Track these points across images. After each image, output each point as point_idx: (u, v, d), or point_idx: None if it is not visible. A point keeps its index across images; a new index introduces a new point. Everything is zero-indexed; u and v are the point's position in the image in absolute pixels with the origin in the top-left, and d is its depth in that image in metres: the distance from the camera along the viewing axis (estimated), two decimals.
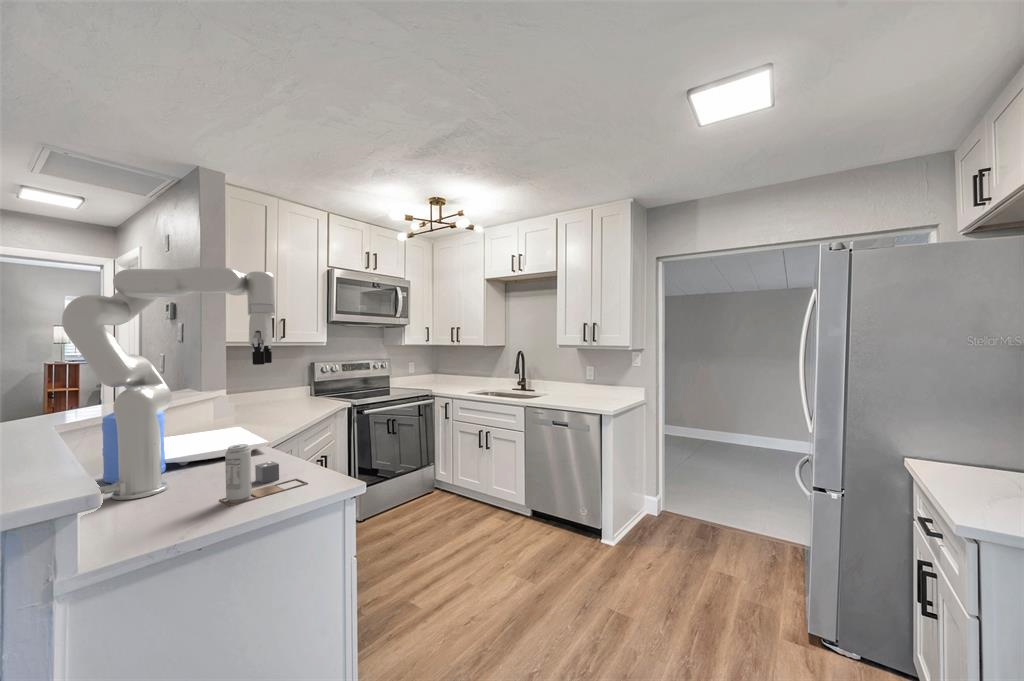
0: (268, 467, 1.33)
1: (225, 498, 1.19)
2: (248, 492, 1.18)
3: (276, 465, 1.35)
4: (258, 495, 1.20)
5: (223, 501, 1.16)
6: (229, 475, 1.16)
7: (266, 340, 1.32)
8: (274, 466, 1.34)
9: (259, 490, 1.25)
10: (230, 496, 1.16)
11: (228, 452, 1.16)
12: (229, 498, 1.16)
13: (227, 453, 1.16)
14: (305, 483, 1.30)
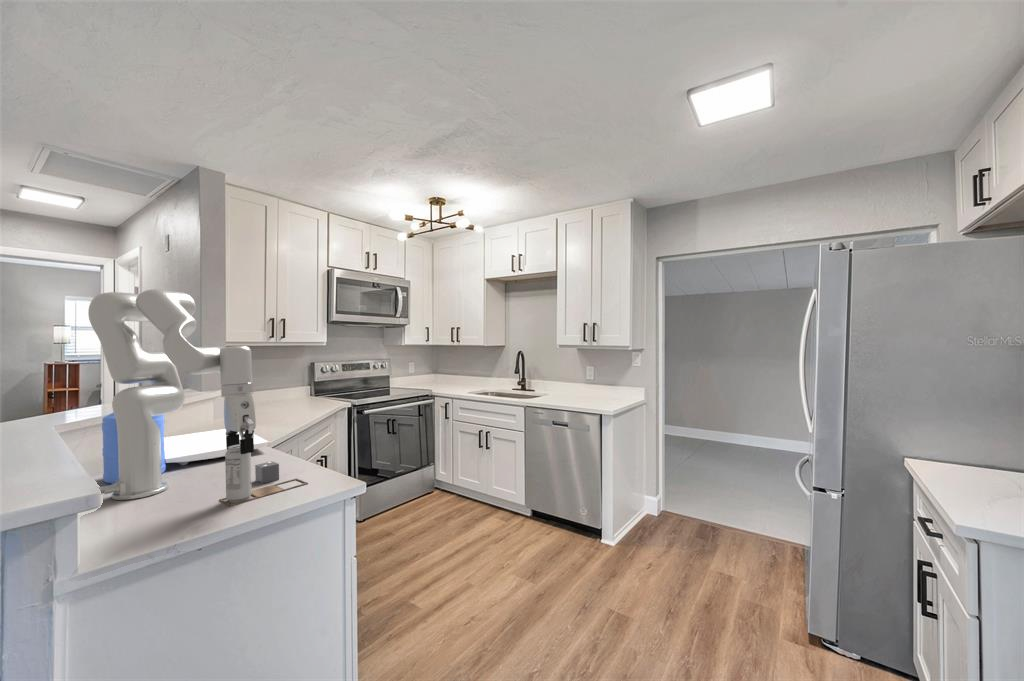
0: (268, 467, 1.33)
1: (225, 498, 1.19)
2: (248, 492, 1.18)
3: (276, 465, 1.35)
4: (258, 495, 1.20)
5: (223, 501, 1.16)
6: (229, 475, 1.16)
7: (225, 424, 1.19)
8: (274, 466, 1.34)
9: (259, 490, 1.25)
10: (230, 496, 1.16)
11: (228, 452, 1.16)
12: (229, 498, 1.16)
13: (227, 453, 1.16)
14: (305, 483, 1.30)
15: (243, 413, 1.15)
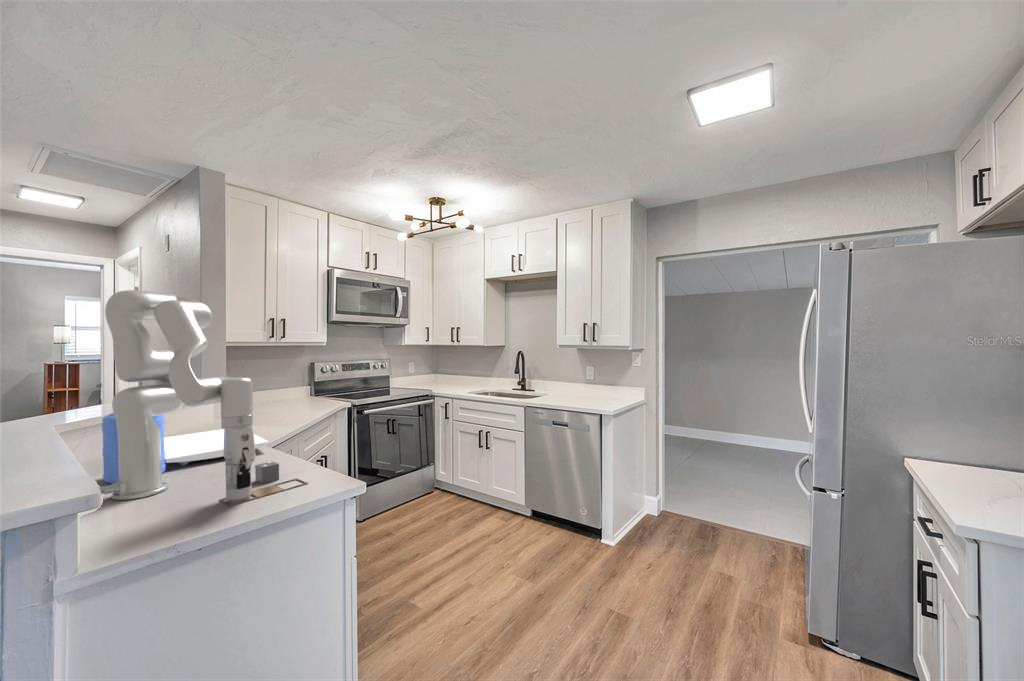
0: (268, 467, 1.33)
1: (225, 498, 1.19)
2: (248, 492, 1.18)
3: (276, 465, 1.35)
4: (258, 495, 1.20)
5: (223, 501, 1.16)
6: (229, 475, 1.16)
7: (224, 455, 1.19)
8: (274, 466, 1.34)
9: (259, 490, 1.25)
10: (230, 496, 1.16)
11: (228, 452, 1.16)
12: (229, 498, 1.16)
13: (227, 453, 1.16)
14: (305, 483, 1.30)
15: (243, 445, 1.15)
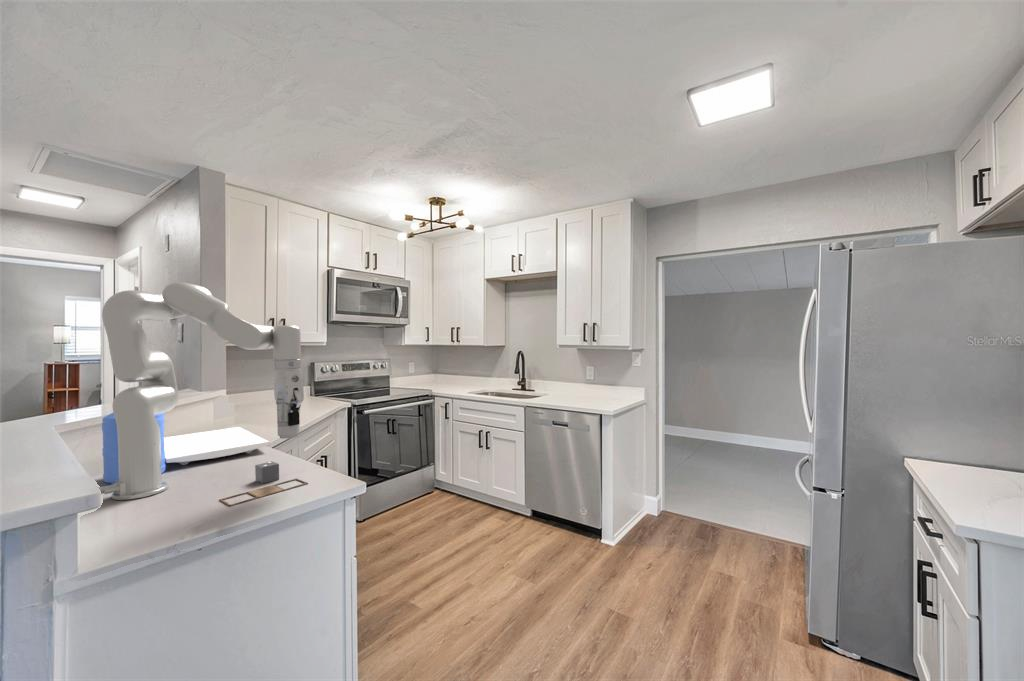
0: (268, 467, 1.33)
1: (225, 498, 1.19)
2: (297, 430, 1.29)
3: (276, 465, 1.35)
4: (258, 495, 1.20)
5: (223, 501, 1.16)
6: (280, 413, 1.27)
7: (275, 396, 1.30)
8: (274, 466, 1.34)
9: (259, 490, 1.25)
10: (282, 432, 1.27)
11: (280, 392, 1.27)
12: (281, 434, 1.27)
13: (279, 393, 1.27)
14: (305, 483, 1.30)
15: (294, 386, 1.26)
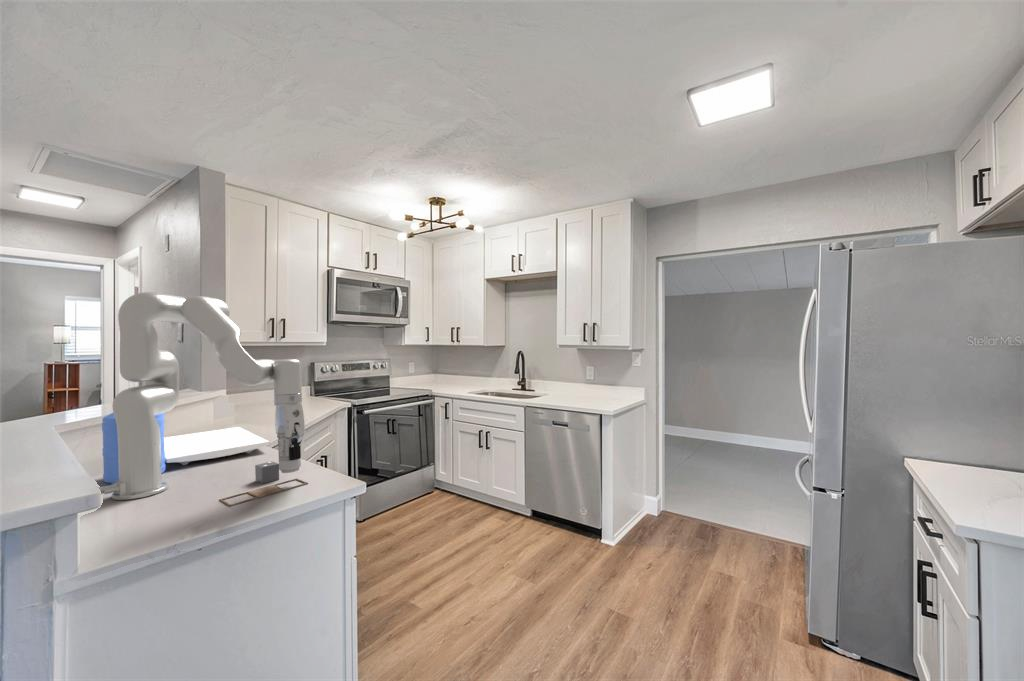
0: (268, 467, 1.33)
1: (225, 498, 1.19)
2: (298, 464, 1.29)
3: (276, 465, 1.35)
4: (258, 495, 1.20)
5: (223, 501, 1.16)
6: (281, 448, 1.27)
7: (276, 430, 1.30)
8: (274, 466, 1.34)
9: (259, 490, 1.25)
10: (283, 467, 1.27)
11: (281, 427, 1.27)
12: (282, 469, 1.27)
13: (280, 428, 1.27)
14: (305, 483, 1.30)
15: (295, 420, 1.26)
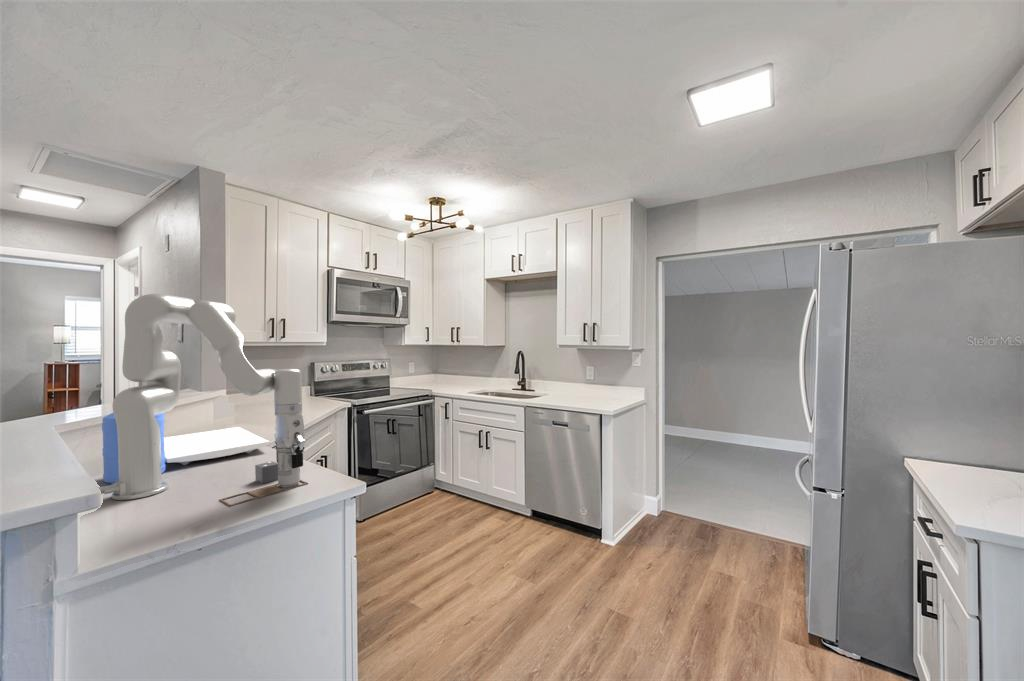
0: (268, 467, 1.33)
1: (225, 498, 1.19)
2: (297, 478, 1.29)
3: (276, 465, 1.35)
4: (258, 495, 1.20)
5: (223, 501, 1.16)
6: (281, 462, 1.27)
7: (276, 440, 1.30)
8: (274, 466, 1.34)
9: (259, 490, 1.25)
10: (282, 482, 1.27)
11: (280, 441, 1.27)
12: (281, 483, 1.27)
13: (279, 442, 1.27)
14: (305, 483, 1.30)
15: (295, 430, 1.26)
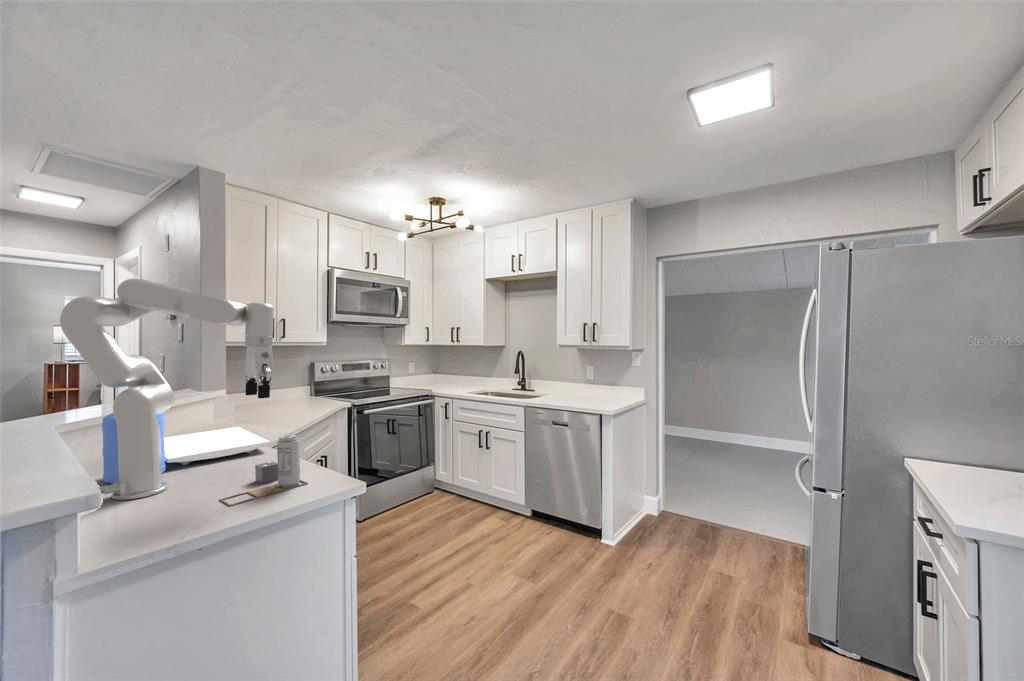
0: (268, 467, 1.33)
1: (225, 498, 1.19)
2: (297, 478, 1.29)
3: (276, 465, 1.35)
4: (258, 495, 1.20)
5: (223, 501, 1.16)
6: (281, 462, 1.27)
7: (246, 372, 1.34)
8: (274, 466, 1.34)
9: (259, 490, 1.25)
10: (282, 482, 1.27)
11: (280, 441, 1.27)
12: (281, 483, 1.27)
13: (279, 442, 1.27)
14: (305, 483, 1.30)
15: (263, 362, 1.29)
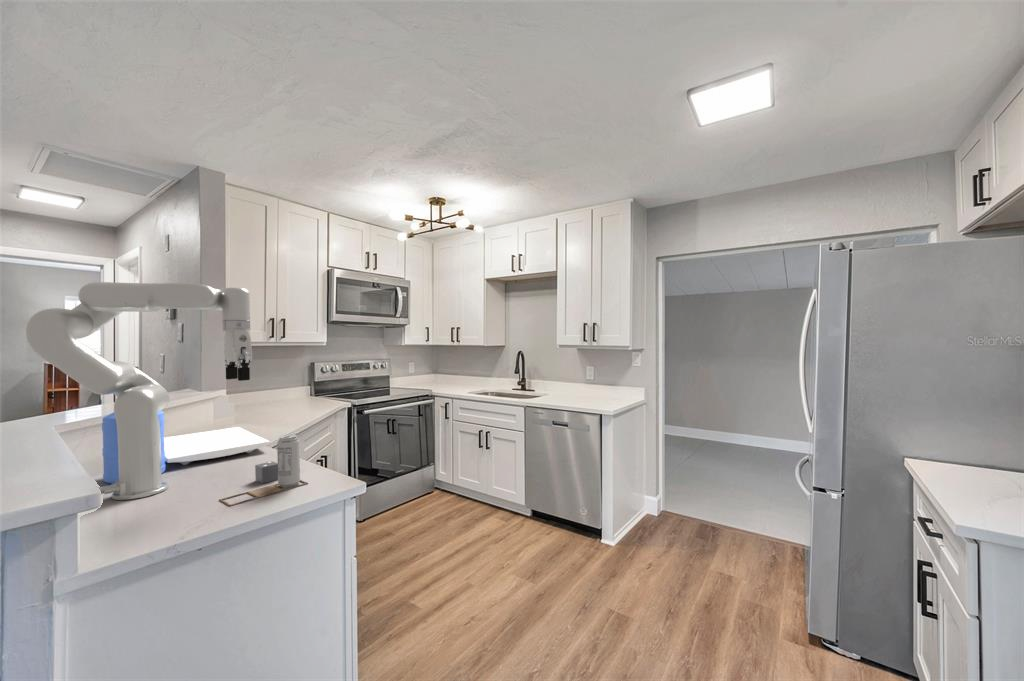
0: (268, 467, 1.33)
1: (225, 498, 1.19)
2: (297, 478, 1.29)
3: (276, 465, 1.35)
4: (258, 495, 1.20)
5: (223, 501, 1.16)
6: (281, 462, 1.27)
7: (225, 356, 1.36)
8: (274, 466, 1.34)
9: (259, 490, 1.25)
10: (283, 482, 1.27)
11: (280, 442, 1.27)
12: (281, 483, 1.27)
13: (279, 442, 1.27)
14: (305, 483, 1.30)
15: (241, 345, 1.32)
